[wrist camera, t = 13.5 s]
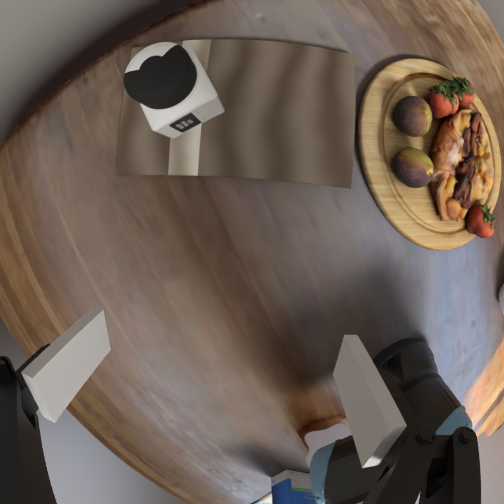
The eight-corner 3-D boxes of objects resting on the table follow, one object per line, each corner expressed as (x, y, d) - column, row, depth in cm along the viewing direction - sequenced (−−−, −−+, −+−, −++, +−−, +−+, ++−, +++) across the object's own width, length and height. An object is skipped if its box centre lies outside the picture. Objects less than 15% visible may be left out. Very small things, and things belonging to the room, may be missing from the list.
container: (226, 112, 31) (210, 78, 19) (173, 140, 32) (130, 124, 20) (201, 67, 29) (176, 20, 17) (151, 94, 30) (105, 63, 18)
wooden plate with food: (502, 220, 36) (530, 228, 28) (382, 274, 39) (408, 295, 31) (464, 63, 28) (490, 53, 20) (322, 69, 31) (338, 45, 23)
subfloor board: (351, 58, 30) (355, 54, 28) (346, 187, 35) (350, 188, 34) (136, 51, 29) (131, 47, 28) (121, 175, 35) (115, 175, 33)
